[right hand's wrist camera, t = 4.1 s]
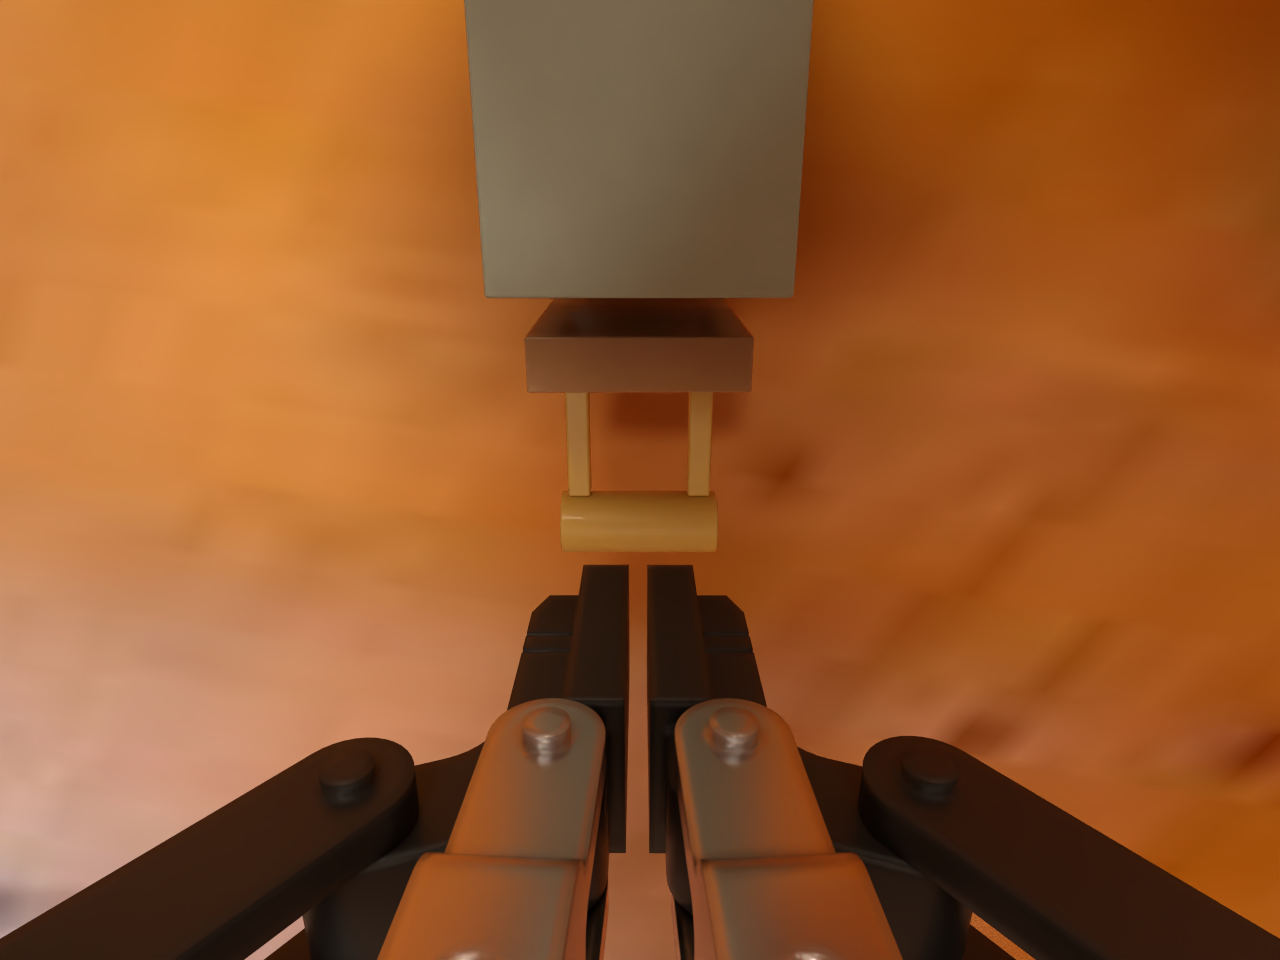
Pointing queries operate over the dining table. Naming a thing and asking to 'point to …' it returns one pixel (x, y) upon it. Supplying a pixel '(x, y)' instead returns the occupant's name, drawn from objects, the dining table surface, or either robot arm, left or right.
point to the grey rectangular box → (639, 145)
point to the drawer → (638, 362)
